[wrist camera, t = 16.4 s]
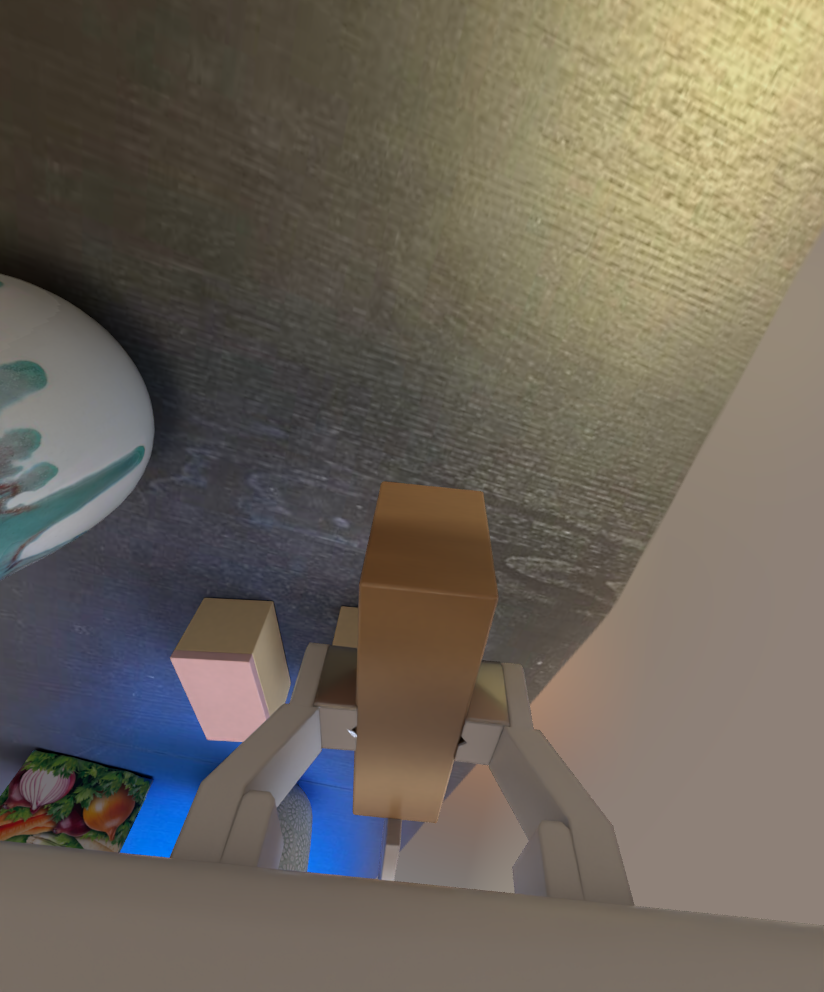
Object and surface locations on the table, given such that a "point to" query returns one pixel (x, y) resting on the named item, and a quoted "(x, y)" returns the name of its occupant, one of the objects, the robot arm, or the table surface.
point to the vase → (63, 424)
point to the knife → (418, 650)
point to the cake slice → (232, 666)
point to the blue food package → (71, 803)
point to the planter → (295, 830)
